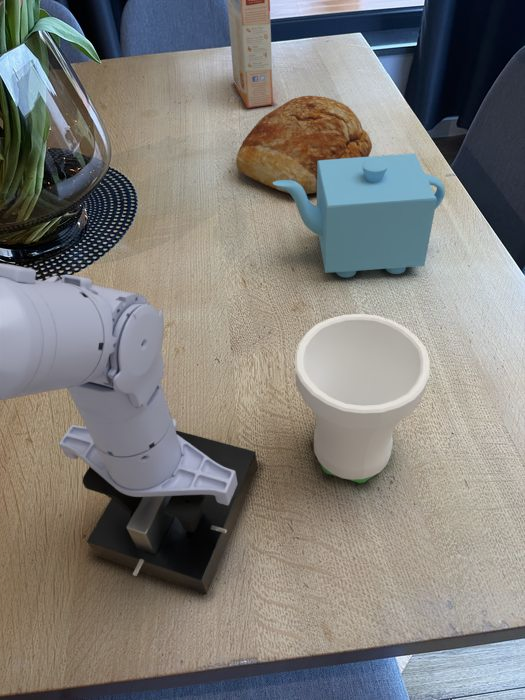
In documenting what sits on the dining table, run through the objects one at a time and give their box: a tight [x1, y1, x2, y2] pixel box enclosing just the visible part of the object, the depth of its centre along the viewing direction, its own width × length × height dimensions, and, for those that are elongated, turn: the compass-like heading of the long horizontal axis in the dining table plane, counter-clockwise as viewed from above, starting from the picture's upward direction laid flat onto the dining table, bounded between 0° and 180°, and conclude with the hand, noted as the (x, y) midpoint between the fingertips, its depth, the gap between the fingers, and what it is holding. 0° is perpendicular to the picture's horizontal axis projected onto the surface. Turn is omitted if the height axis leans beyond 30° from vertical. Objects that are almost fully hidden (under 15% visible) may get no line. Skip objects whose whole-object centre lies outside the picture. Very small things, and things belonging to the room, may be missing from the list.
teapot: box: [273, 153, 446, 278], centre depth 74 cm, size 22×11×14 cm, turn 92°
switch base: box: [86, 429, 258, 595], centre depth 52 cm, size 14×12×3 cm
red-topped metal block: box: [127, 496, 174, 554], centre depth 48 cm, size 8×2×4 cm, turn 160°
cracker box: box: [226, 0, 274, 109], centre depth 111 cm, size 14×6×21 cm, turn 13°
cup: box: [294, 313, 431, 484], centre depth 51 cm, size 11×11×14 cm
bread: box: [236, 95, 373, 195], centre depth 92 cm, size 20×18×10 cm
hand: (166, 512), depth 50 cm, fingers open, 5 cm apart
